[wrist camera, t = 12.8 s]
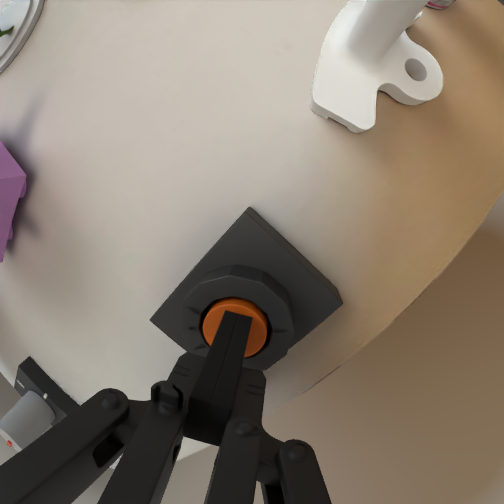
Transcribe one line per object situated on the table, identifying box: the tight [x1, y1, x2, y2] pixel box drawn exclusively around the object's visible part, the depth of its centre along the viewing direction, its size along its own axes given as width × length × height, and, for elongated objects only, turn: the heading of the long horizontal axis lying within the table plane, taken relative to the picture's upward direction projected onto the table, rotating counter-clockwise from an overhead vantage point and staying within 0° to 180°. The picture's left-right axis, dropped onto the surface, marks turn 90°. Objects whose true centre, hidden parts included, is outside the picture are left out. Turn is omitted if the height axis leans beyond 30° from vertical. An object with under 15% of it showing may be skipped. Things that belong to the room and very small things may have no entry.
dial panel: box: [14, 356, 80, 426], centre depth 26 cm, size 10×9×3 cm
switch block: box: [150, 207, 343, 371], centre depth 18 cm, size 10×8×4 cm
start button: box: [203, 296, 268, 357], centre depth 16 cm, size 4×4×2 cm
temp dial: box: [0, 391, 55, 452], centre depth 21 cm, size 5×5×8 cm
